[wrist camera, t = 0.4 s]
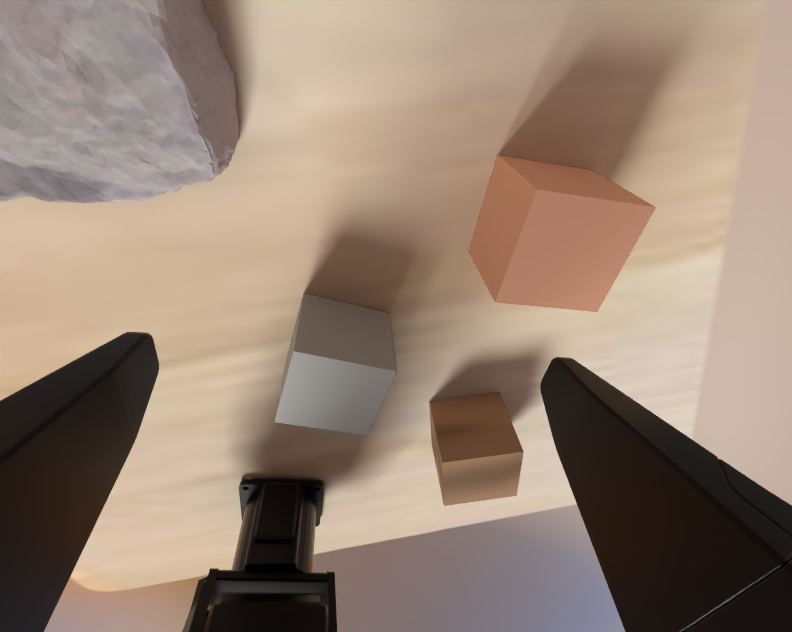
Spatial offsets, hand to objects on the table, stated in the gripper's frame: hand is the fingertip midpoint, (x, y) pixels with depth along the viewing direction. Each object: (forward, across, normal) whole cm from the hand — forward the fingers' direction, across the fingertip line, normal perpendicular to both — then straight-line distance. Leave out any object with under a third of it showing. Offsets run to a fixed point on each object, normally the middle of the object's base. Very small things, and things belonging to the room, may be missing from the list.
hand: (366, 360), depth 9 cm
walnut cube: (+12, -10, +16) cm, 22 cm away
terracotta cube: (+12, -9, 0) cm, 15 cm away
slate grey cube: (+12, 0, +9) cm, 15 cm away
